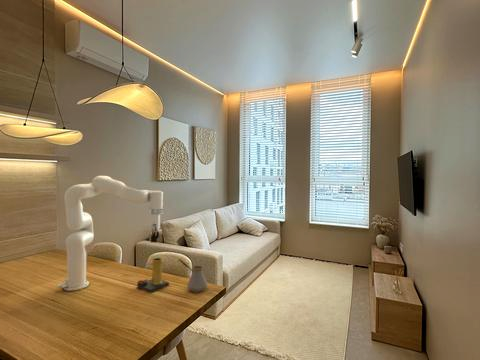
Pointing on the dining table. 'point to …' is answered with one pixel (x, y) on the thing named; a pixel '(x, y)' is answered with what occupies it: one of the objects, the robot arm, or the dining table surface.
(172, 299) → the dining table surface
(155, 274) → the vase
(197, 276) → the coffee pot
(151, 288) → the scale
